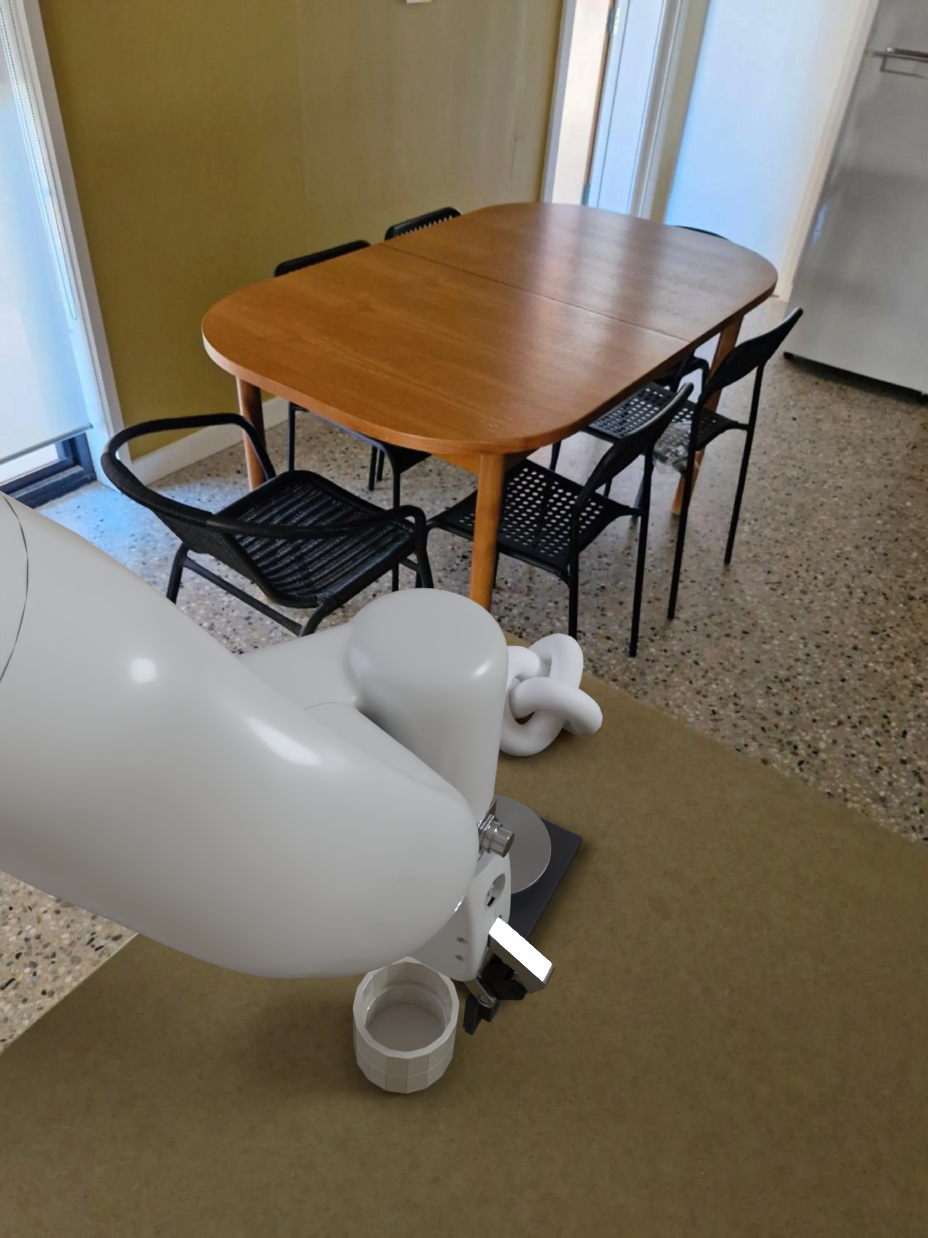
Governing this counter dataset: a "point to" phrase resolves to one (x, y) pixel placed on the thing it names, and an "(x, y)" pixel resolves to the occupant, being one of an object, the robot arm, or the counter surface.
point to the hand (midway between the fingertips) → (413, 975)
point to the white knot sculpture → (545, 696)
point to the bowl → (404, 1025)
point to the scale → (542, 883)
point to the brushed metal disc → (524, 842)
